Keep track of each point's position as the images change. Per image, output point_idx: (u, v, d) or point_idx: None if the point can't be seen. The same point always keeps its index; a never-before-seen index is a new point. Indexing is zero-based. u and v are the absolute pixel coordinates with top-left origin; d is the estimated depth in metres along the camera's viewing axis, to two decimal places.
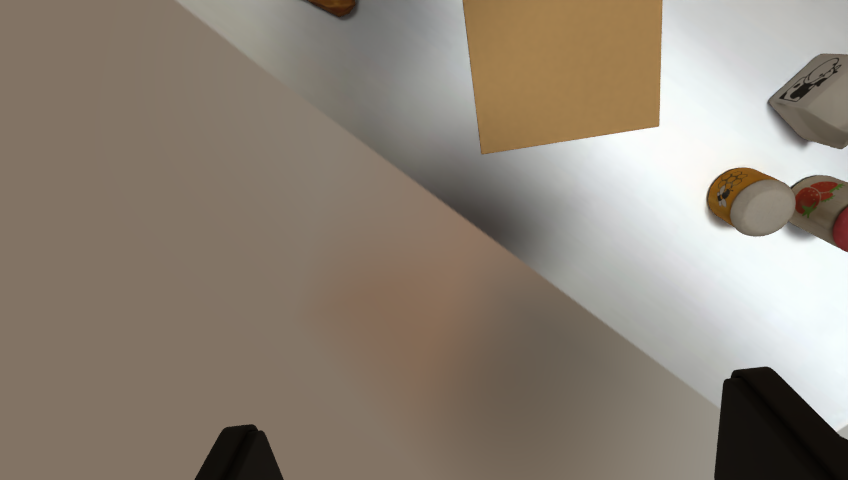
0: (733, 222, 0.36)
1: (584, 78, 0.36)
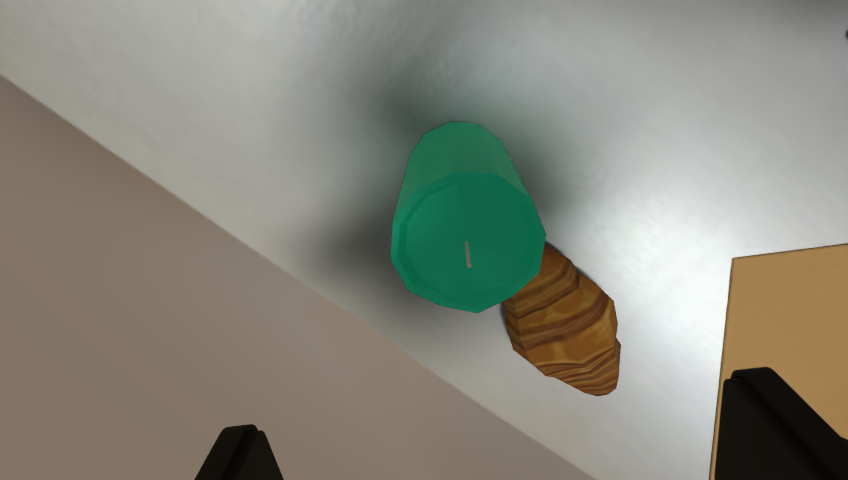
0: None
1: None
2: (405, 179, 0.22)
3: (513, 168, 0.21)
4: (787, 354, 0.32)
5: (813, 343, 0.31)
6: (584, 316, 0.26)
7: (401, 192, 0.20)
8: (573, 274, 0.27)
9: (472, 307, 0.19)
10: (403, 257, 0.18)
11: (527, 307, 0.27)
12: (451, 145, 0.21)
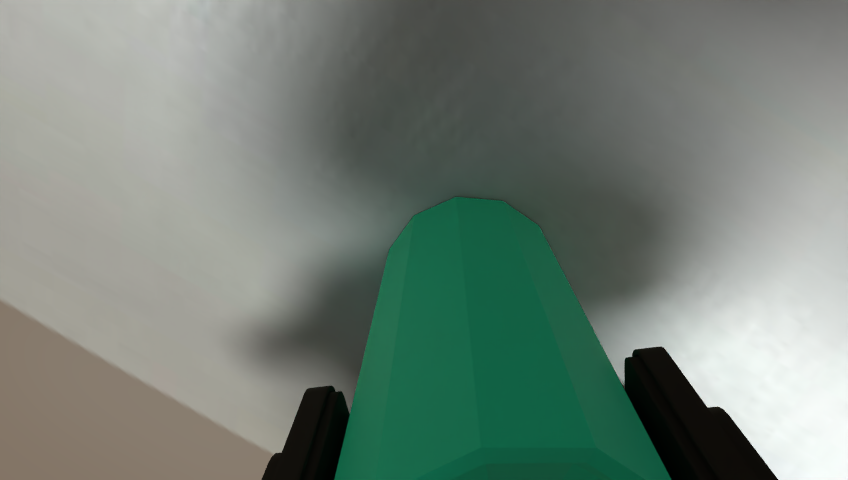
0: None
1: None
2: (371, 337, 0.11)
3: (591, 334, 0.10)
4: None
5: None
6: None
7: (357, 389, 0.10)
8: None
9: None
10: None
11: None
12: (462, 285, 0.10)
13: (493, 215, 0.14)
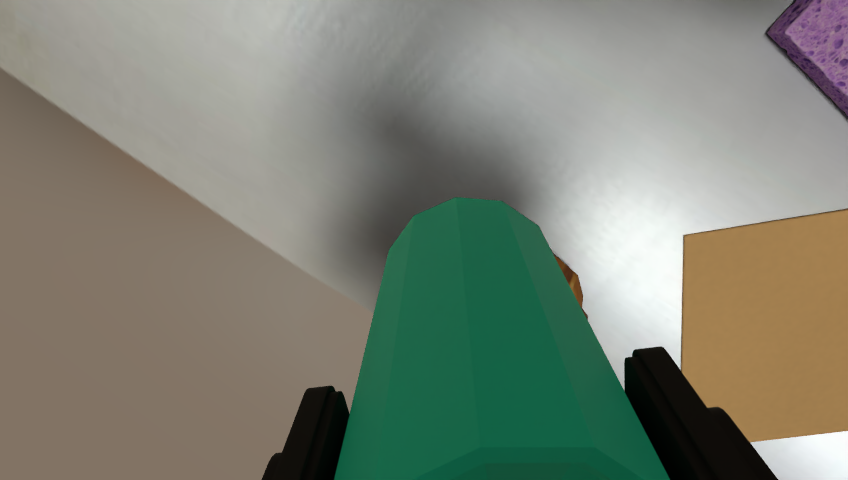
0: None
1: (789, 395, 0.37)
2: (371, 337, 0.11)
3: (590, 334, 0.10)
4: (740, 322, 0.35)
5: (762, 311, 0.35)
6: None
7: (357, 389, 0.10)
8: None
9: None
10: None
11: None
12: (461, 286, 0.10)
13: (493, 215, 0.14)
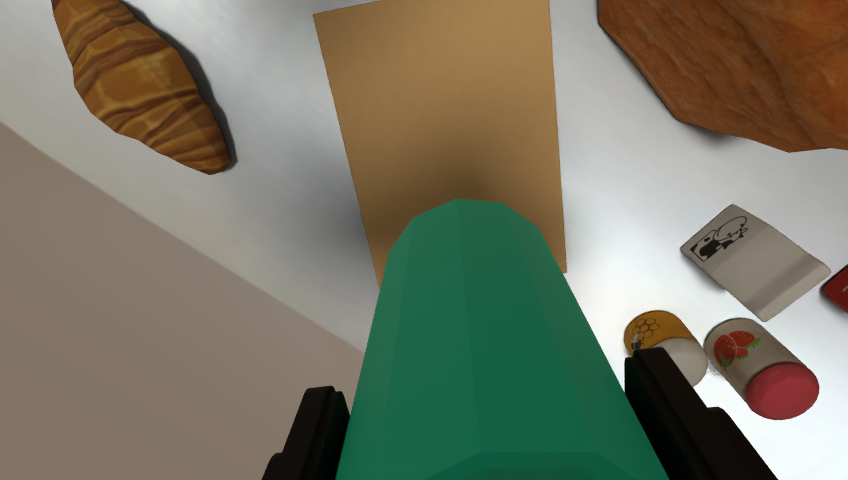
0: None
1: None
2: (371, 339, 0.11)
3: (591, 337, 0.10)
4: (404, 131, 0.31)
5: (424, 116, 0.30)
6: (120, 51, 0.26)
7: (358, 392, 0.10)
8: (124, 17, 0.27)
9: None
10: None
11: (74, 50, 0.27)
12: (462, 288, 0.10)
13: (493, 217, 0.14)
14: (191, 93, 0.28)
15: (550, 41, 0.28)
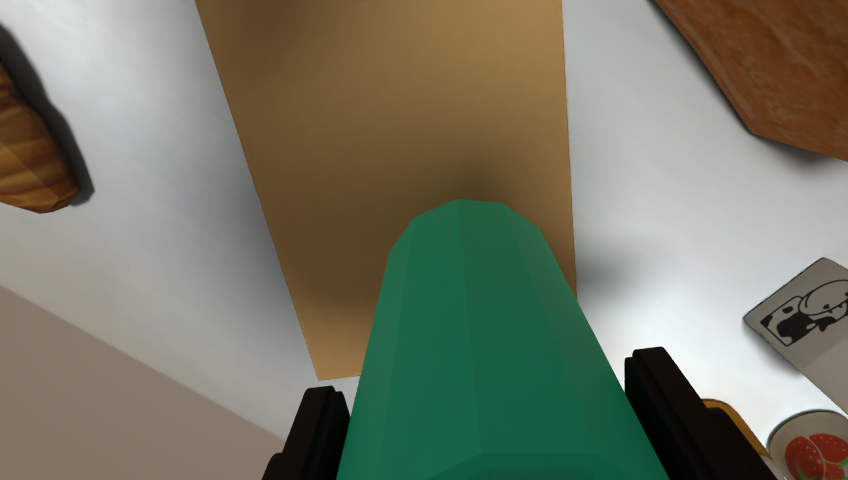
0: None
1: None
2: (372, 340, 0.11)
3: (592, 337, 0.10)
4: (338, 149, 0.20)
5: (367, 126, 0.20)
6: None
7: (358, 393, 0.10)
8: None
9: None
10: None
11: None
12: (462, 289, 0.10)
13: (493, 217, 0.14)
14: None
15: (560, 11, 0.18)
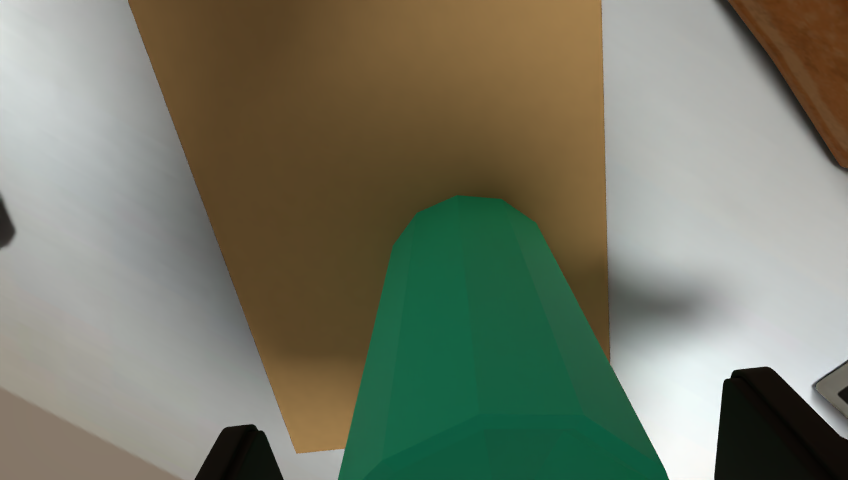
0: None
1: None
2: (377, 325, 0.12)
3: (584, 321, 0.11)
4: (314, 183, 0.16)
5: (351, 156, 0.16)
6: None
7: (365, 372, 0.10)
8: None
9: None
10: None
11: None
12: (462, 275, 0.11)
13: (492, 212, 0.15)
14: None
15: (598, 10, 0.14)
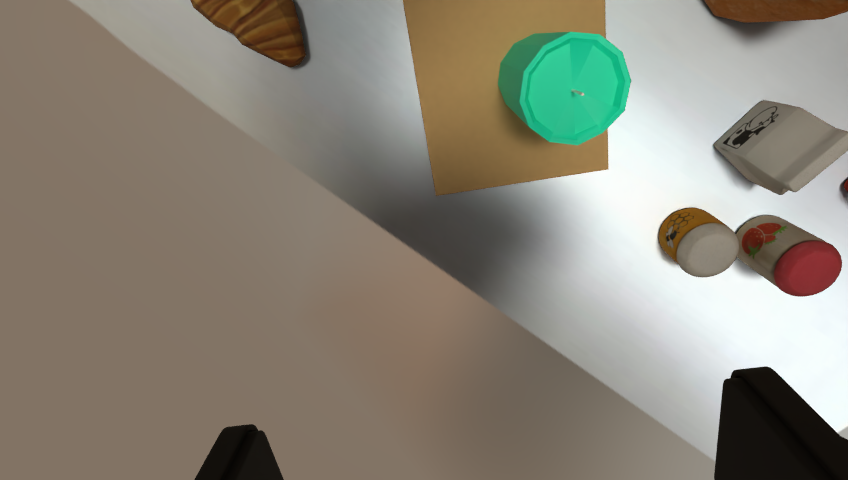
0: (679, 263, 0.37)
1: None
2: (513, 63, 0.30)
3: None
4: (465, 28, 0.34)
5: (484, 13, 0.33)
6: None
7: (516, 66, 0.28)
8: None
9: (574, 140, 0.27)
10: (527, 101, 0.26)
11: None
12: None
13: None
14: None
15: None
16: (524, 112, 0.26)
